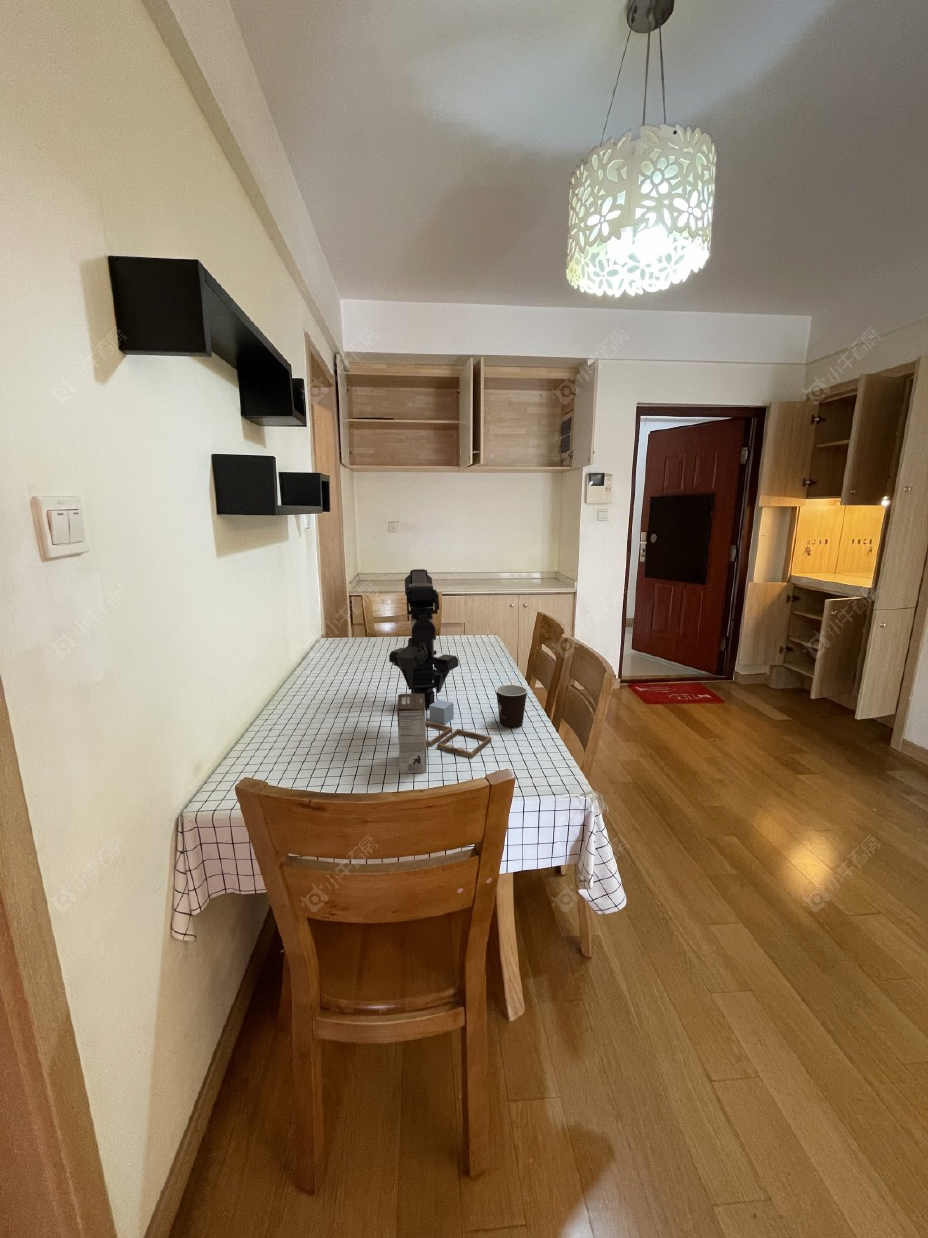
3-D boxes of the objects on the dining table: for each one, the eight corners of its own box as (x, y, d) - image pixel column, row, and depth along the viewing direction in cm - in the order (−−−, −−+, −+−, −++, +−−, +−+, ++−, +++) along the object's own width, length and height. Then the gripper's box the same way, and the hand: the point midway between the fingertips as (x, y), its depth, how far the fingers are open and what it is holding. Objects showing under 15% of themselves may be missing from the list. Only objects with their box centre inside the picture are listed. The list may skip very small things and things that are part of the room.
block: (429, 721, 138) (429, 705, 137) (439, 715, 143) (438, 699, 142) (444, 725, 136) (444, 708, 135) (453, 718, 140) (453, 702, 139)
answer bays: (398, 738, 128) (398, 733, 128) (421, 723, 137) (421, 718, 137) (471, 759, 117) (471, 753, 117) (491, 741, 126) (491, 736, 126)
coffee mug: (525, 731, 132) (525, 696, 129) (493, 728, 133) (494, 694, 131) (528, 714, 143) (529, 682, 141) (499, 712, 144) (499, 680, 142)
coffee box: (400, 755, 119) (398, 693, 116) (426, 753, 120) (424, 692, 116) (398, 774, 110) (396, 708, 107) (427, 772, 111) (425, 707, 107)
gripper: (374, 635, 124) (377, 693, 127) (435, 644, 115) (436, 706, 118) (400, 627, 133) (402, 681, 136) (459, 634, 124) (459, 692, 127)
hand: (423, 689), depth 129 cm, fingers open, 9 cm apart
